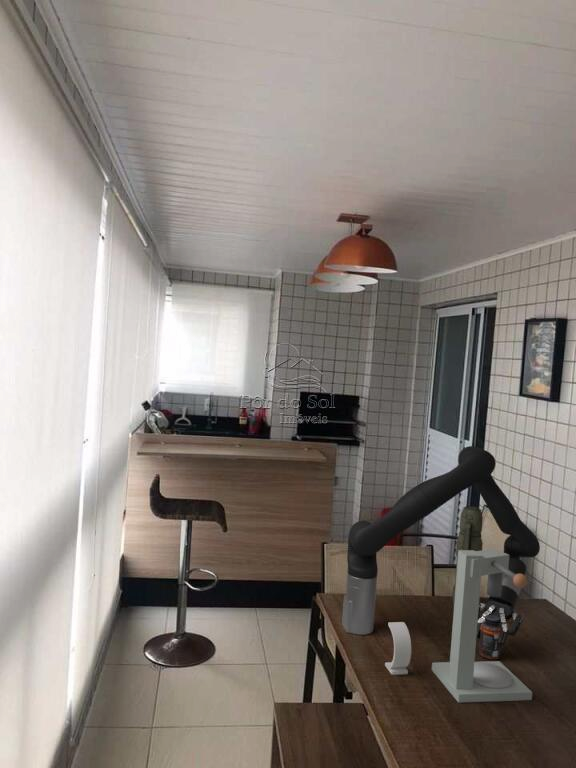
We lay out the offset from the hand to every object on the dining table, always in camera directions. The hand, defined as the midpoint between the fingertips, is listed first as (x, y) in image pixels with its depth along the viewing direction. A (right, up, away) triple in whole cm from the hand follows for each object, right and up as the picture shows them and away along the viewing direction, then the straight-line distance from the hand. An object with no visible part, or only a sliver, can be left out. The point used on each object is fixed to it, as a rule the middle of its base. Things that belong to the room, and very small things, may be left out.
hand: (488, 640), depth 173 cm
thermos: (+5, -5, +40) cm, 40 cm away
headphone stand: (-28, -4, -11) cm, 31 cm away
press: (-6, -5, -20) cm, 22 cm away
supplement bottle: (+1, -5, +1) cm, 5 cm away
